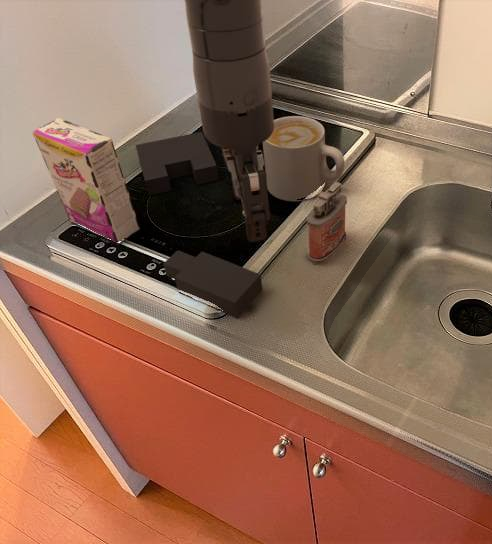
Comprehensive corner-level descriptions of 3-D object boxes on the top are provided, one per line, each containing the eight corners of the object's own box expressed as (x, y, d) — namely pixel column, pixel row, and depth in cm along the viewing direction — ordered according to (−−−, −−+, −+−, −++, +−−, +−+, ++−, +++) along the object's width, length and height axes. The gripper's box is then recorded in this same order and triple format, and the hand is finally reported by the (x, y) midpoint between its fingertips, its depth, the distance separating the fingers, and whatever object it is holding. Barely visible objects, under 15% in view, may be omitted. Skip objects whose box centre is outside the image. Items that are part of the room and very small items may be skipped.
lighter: (322, 267, 82) (321, 212, 75) (303, 259, 83) (300, 204, 76) (351, 236, 87) (352, 182, 80) (332, 229, 88) (332, 175, 81)
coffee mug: (255, 189, 96) (249, 136, 89) (289, 161, 102) (285, 110, 95) (322, 215, 91) (321, 161, 84) (353, 184, 97) (355, 131, 90)
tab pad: (237, 318, 75) (234, 303, 73) (160, 285, 80) (156, 269, 78) (262, 290, 79) (260, 274, 77) (187, 259, 84) (184, 244, 82)
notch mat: (148, 195, 96) (144, 180, 93) (139, 159, 104) (135, 144, 102) (219, 180, 98) (216, 165, 96) (204, 146, 107) (201, 131, 105)
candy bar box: (68, 223, 90) (29, 131, 79) (92, 207, 93) (58, 115, 82) (118, 247, 86) (84, 153, 75) (141, 229, 89) (113, 136, 78)
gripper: (188, 67, 62) (210, 190, 73) (208, 130, 52) (229, 261, 63) (255, 58, 64) (267, 180, 75) (287, 117, 54) (295, 248, 65)
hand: (250, 217), depth 69 cm, fingers open, 8 cm apart
